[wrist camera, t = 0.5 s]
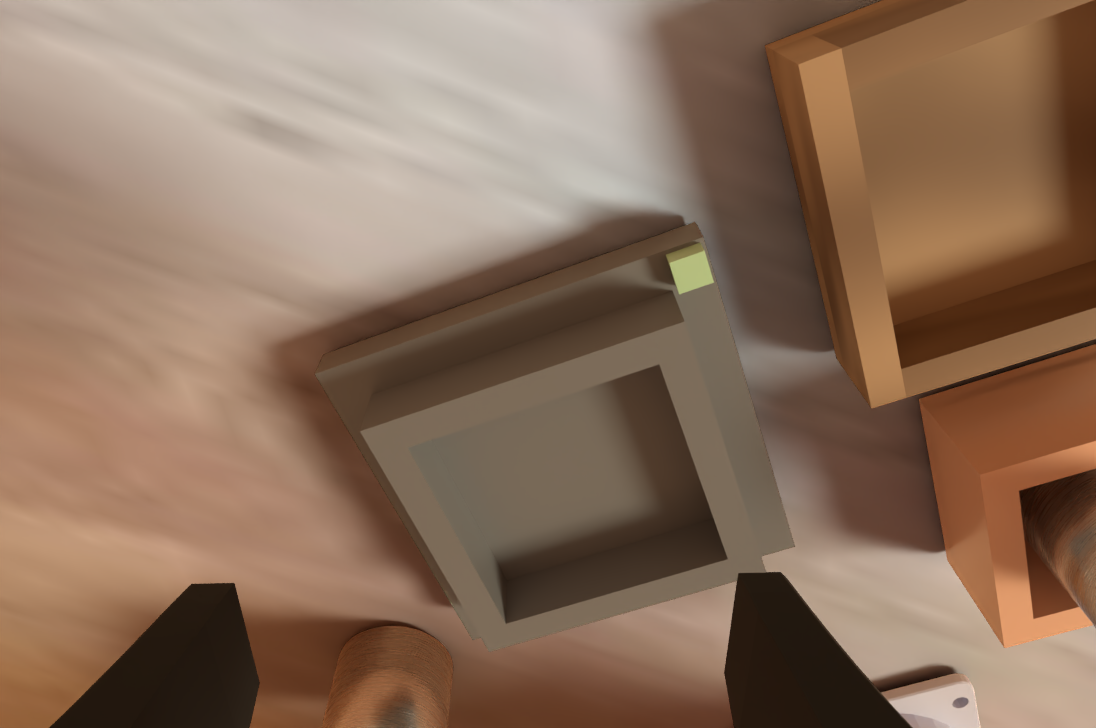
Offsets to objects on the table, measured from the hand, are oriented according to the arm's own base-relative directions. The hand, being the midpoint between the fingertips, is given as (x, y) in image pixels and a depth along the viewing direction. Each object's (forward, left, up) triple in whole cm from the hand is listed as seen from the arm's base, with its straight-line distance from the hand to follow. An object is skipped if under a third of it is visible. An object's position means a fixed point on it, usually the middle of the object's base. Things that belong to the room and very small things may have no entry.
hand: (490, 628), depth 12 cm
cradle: (-4, 0, -10) cm, 10 cm away
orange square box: (-9, -12, -10) cm, 18 cm away
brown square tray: (0, -11, -10) cm, 15 cm away
